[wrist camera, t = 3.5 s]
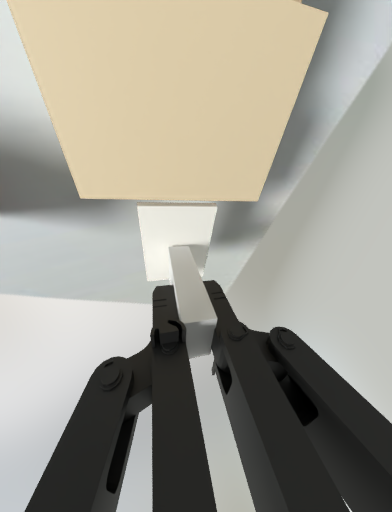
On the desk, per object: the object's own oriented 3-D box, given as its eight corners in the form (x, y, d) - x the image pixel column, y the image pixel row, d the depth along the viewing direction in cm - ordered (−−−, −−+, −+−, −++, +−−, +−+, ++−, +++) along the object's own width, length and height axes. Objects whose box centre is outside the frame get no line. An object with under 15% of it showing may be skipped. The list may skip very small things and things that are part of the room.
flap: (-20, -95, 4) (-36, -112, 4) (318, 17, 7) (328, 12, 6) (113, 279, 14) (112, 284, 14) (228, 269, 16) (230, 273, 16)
